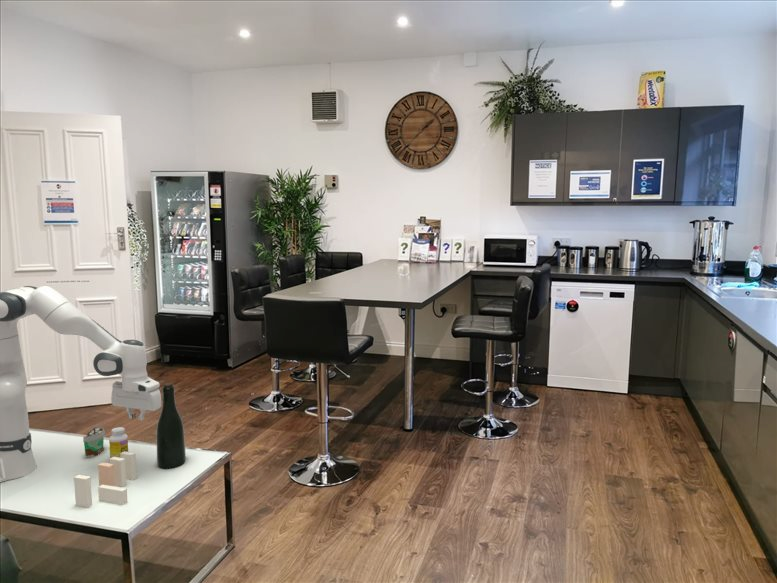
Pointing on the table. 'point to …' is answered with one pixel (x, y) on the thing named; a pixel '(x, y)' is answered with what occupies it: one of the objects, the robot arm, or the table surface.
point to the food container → (94, 442)
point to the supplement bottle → (118, 442)
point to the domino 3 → (106, 474)
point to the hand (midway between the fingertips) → (136, 419)
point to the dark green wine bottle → (170, 432)
